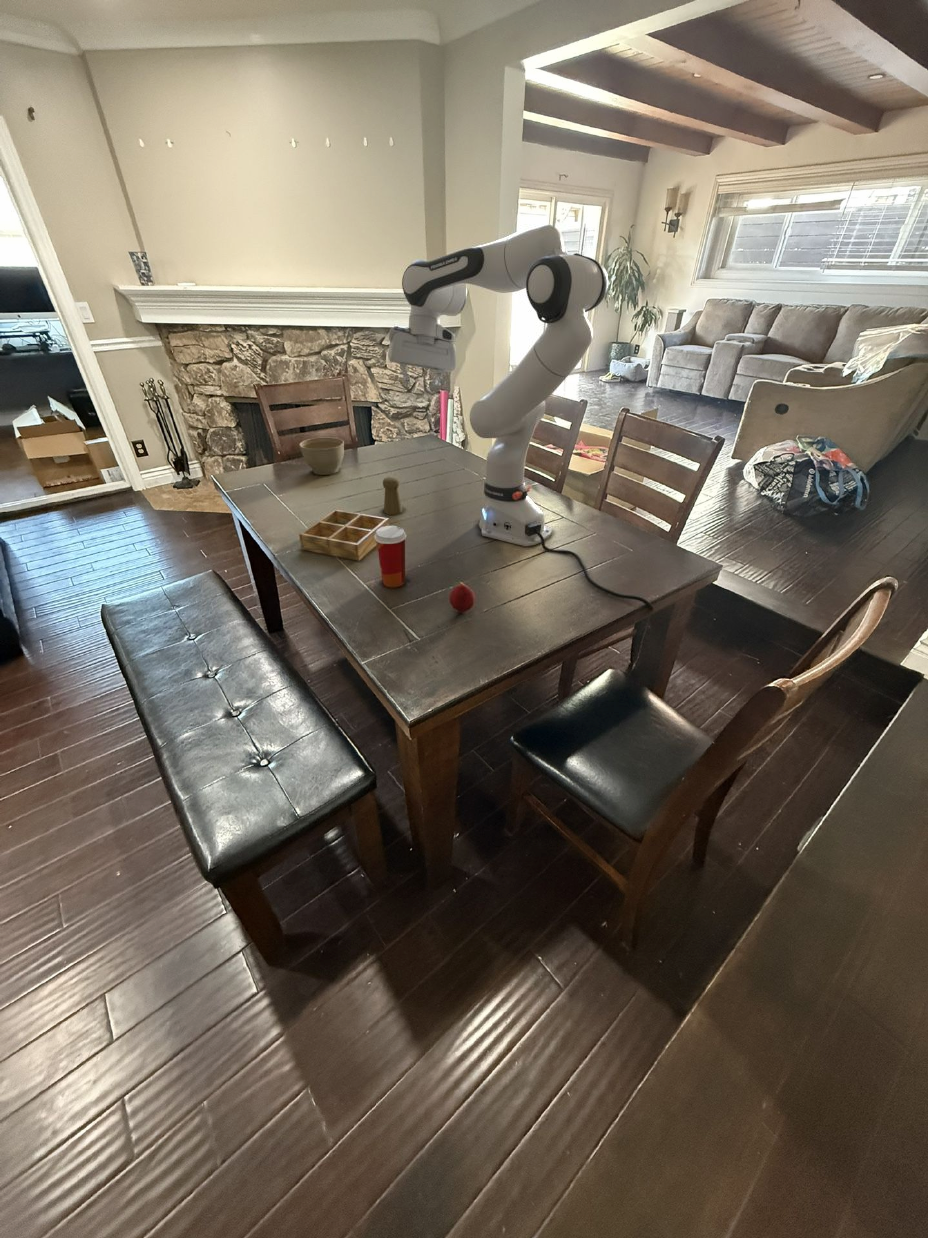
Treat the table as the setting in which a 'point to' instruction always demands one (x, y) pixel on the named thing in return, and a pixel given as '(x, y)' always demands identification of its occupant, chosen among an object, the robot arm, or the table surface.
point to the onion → (462, 598)
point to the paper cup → (391, 555)
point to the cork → (392, 496)
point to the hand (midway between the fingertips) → (421, 383)
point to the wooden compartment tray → (343, 534)
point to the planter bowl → (323, 454)
